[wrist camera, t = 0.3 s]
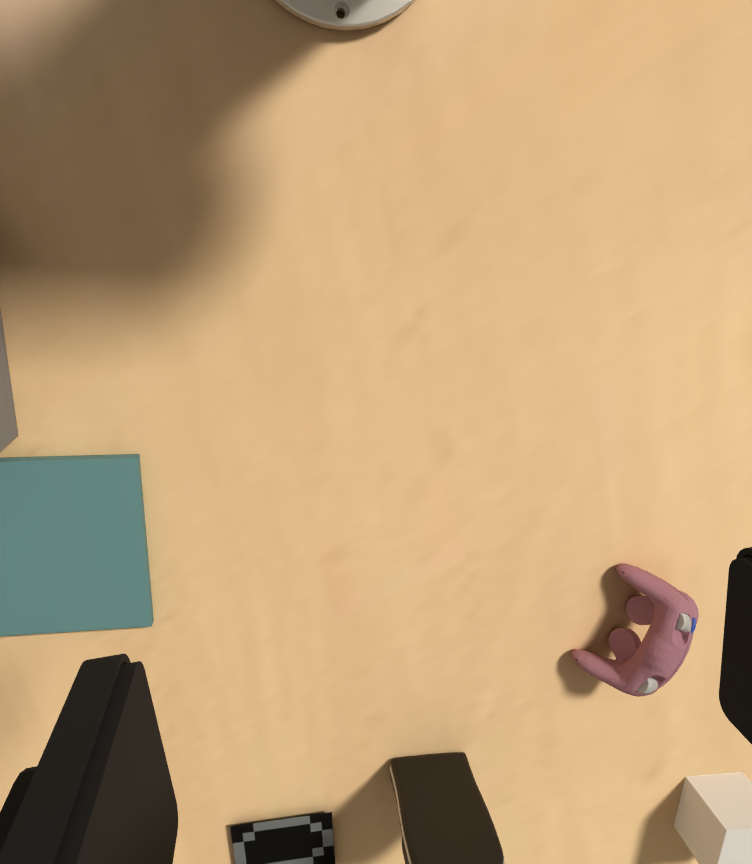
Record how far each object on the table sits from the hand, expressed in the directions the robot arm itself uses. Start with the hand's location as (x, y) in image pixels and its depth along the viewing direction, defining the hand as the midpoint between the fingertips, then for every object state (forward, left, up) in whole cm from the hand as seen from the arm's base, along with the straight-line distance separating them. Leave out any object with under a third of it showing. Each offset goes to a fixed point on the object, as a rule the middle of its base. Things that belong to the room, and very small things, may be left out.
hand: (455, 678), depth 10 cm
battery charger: (+38, +10, -36) cm, 53 cm away
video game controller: (+24, +26, -36) cm, 50 cm away
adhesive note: (+45, +38, -36) cm, 69 cm away
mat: (+15, -18, -36) cm, 43 cm away
